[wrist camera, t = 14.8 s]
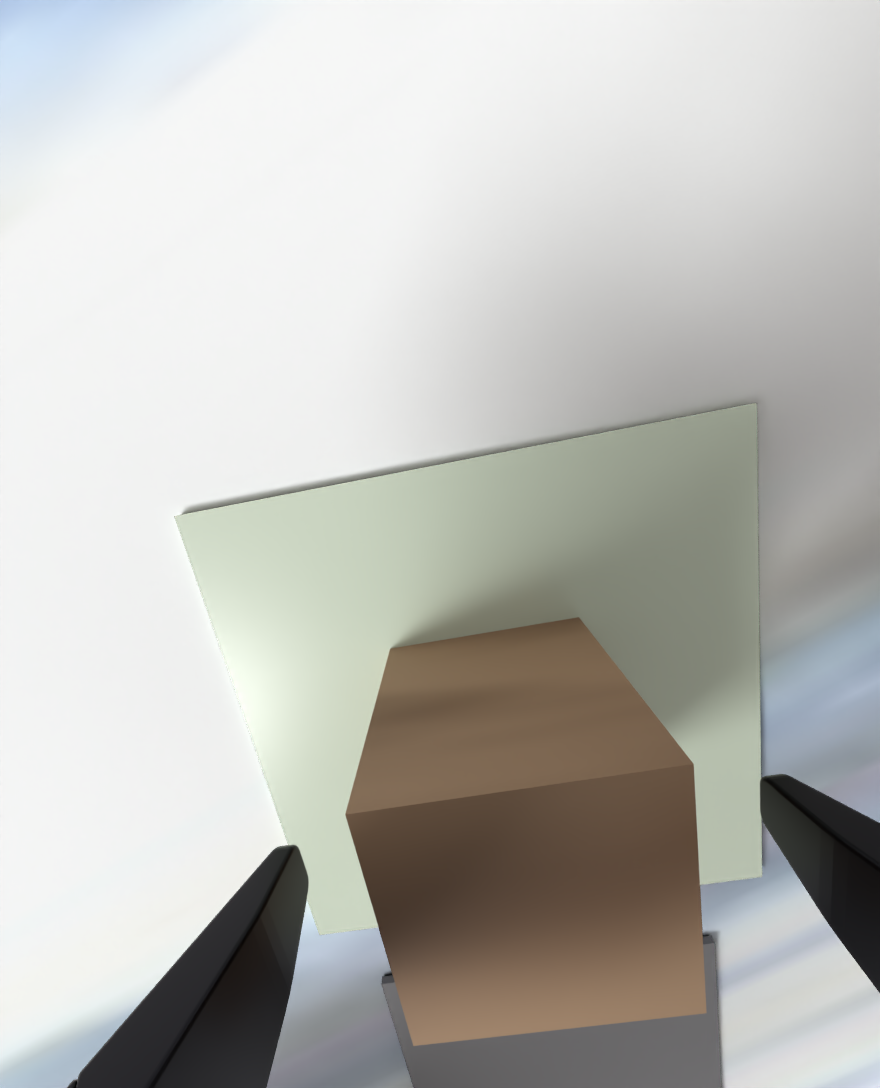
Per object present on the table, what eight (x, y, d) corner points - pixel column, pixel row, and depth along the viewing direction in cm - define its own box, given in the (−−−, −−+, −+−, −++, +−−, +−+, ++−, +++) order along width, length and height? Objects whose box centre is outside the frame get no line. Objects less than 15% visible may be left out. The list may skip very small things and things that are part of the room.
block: (597, 777, 12) (706, 1013, 7) (426, 801, 12) (413, 1045, 7) (578, 617, 11) (693, 763, 6) (390, 648, 11) (345, 814, 6)
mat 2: (721, 1144, 16) (724, 1152, 16) (442, 1171, 16) (442, 1180, 16) (711, 935, 13) (714, 943, 13) (382, 976, 14) (381, 984, 14)
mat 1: (757, 870, 13) (762, 876, 12) (321, 927, 13) (319, 935, 13) (750, 403, 9) (757, 403, 9) (179, 514, 10) (173, 516, 10)
